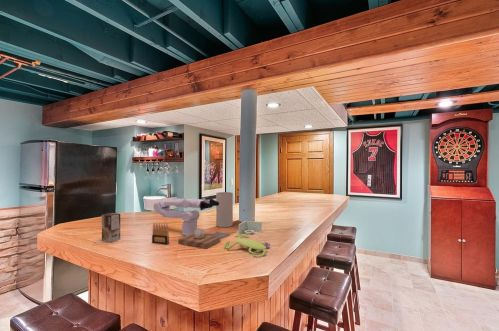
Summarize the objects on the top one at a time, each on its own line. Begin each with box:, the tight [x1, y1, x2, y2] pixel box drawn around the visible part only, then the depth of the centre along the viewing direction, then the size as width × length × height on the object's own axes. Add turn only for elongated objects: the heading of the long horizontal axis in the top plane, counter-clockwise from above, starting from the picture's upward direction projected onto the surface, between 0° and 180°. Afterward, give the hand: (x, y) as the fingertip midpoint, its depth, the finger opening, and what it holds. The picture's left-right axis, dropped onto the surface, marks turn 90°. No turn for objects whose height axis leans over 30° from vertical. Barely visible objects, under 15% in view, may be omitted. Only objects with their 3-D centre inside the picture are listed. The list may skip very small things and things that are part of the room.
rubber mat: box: [210, 231, 230, 240], centre depth 160 cm, size 10×10×1 cm
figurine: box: [223, 233, 271, 258], centre depth 135 cm, size 18×27×6 cm
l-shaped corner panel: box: [238, 220, 263, 236], centre depth 165 cm, size 12×12×8 cm
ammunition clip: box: [151, 222, 170, 246], centre depth 143 cm, size 11×2×12 cm, turn 74°
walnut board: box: [177, 233, 221, 250], centre depth 144 cm, size 20×14×3 cm
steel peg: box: [195, 227, 205, 240], centre depth 144 cm, size 4×4×8 cm
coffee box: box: [101, 212, 121, 243], centre depth 150 cm, size 9×6×16 cm
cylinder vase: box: [215, 191, 234, 228], centre depth 186 cm, size 12×12×25 cm
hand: (215, 204), depth 153 cm, fingers open, 7 cm apart
